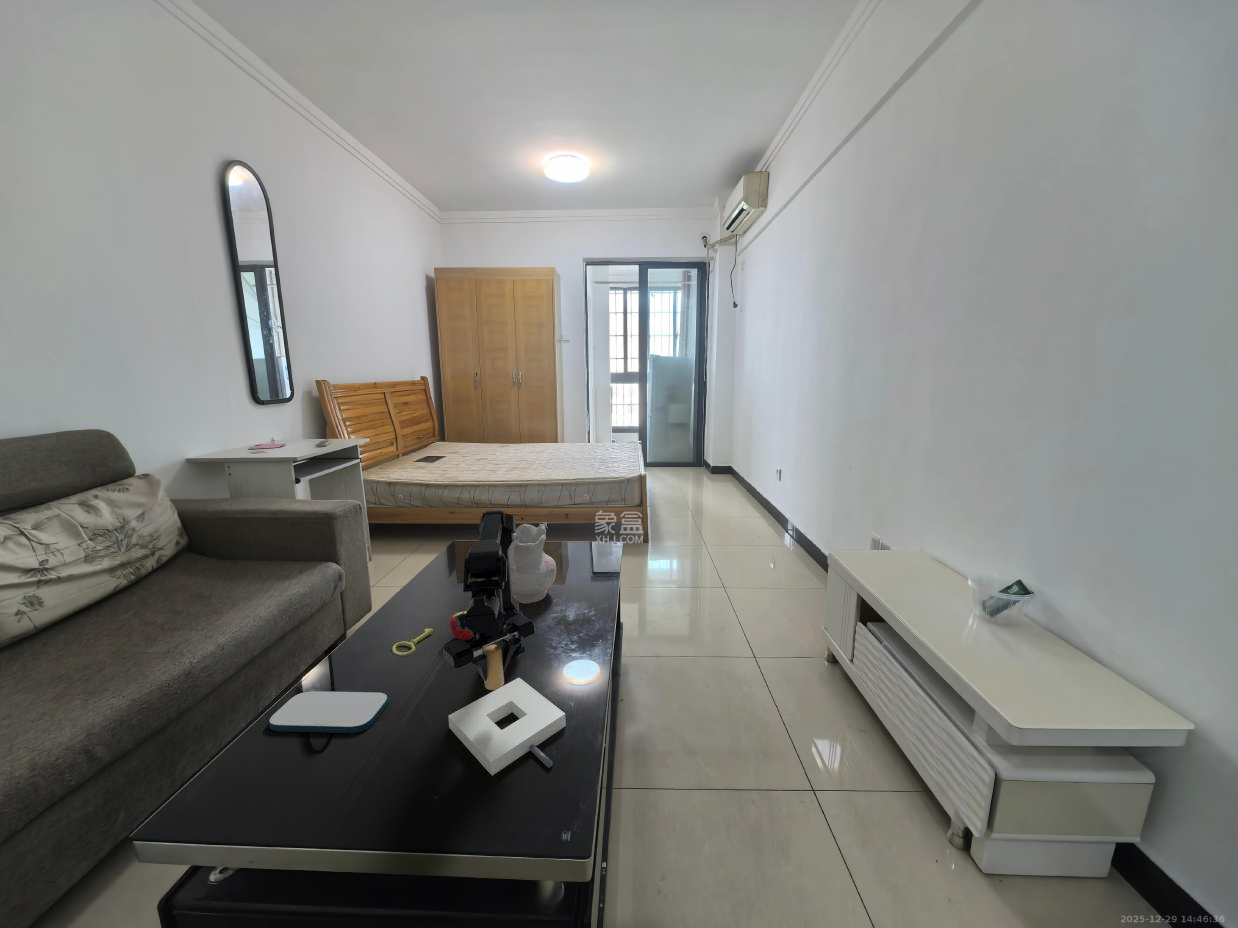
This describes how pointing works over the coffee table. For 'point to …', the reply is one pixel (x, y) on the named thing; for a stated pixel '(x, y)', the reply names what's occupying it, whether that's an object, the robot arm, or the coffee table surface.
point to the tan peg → (494, 667)
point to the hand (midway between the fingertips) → (493, 675)
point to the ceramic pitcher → (530, 564)
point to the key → (410, 643)
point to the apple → (457, 633)
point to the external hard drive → (329, 712)
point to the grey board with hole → (517, 738)
